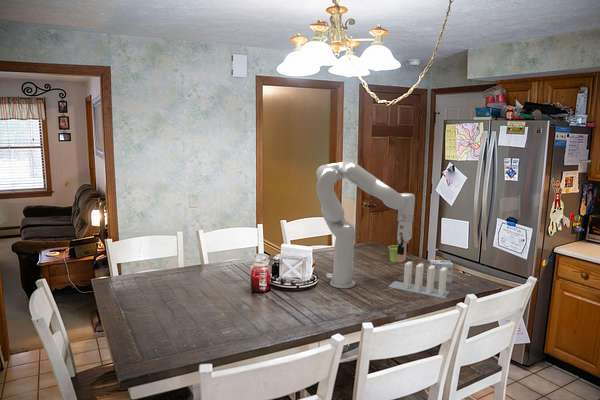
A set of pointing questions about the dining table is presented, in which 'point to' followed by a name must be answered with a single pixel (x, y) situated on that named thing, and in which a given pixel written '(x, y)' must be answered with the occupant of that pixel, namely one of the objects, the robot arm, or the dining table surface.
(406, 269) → the domino
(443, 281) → the domino
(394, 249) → the plant pot
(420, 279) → the domino
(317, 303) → the dining table surface
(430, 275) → the domino
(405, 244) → the domino
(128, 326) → the dining table surface
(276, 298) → the dining table surface
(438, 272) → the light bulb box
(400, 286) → the board
